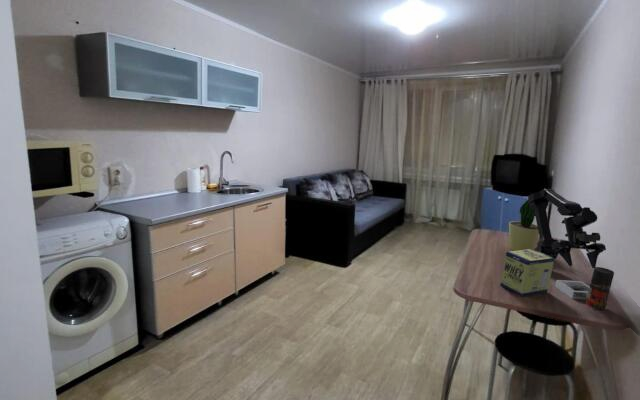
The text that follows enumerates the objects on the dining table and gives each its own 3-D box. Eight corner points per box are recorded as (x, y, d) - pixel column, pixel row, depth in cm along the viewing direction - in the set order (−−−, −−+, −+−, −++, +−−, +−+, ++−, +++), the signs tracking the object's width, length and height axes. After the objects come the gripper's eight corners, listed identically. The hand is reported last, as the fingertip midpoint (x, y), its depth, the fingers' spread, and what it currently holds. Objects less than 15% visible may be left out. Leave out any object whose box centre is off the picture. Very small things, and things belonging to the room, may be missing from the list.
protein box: (499, 285, 148) (505, 251, 144) (525, 281, 153) (532, 248, 150) (520, 297, 138) (528, 261, 135) (548, 292, 144) (555, 257, 140)
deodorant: (581, 302, 137) (590, 266, 133) (595, 302, 137) (604, 267, 134) (594, 310, 131) (603, 273, 128) (609, 310, 131) (618, 273, 128)
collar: (555, 286, 150) (556, 279, 149) (580, 287, 150) (581, 281, 149) (572, 298, 139) (573, 291, 139) (599, 300, 139) (600, 293, 138)
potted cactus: (509, 243, 204) (518, 194, 197) (539, 251, 193) (549, 199, 187) (500, 249, 193) (510, 197, 186) (531, 257, 182) (542, 202, 176)
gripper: (565, 222, 139) (572, 260, 133) (611, 226, 139) (621, 264, 133) (547, 231, 150) (554, 266, 144) (591, 234, 149) (599, 270, 143)
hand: (582, 267), depth 141 cm, fingers open, 9 cm apart
